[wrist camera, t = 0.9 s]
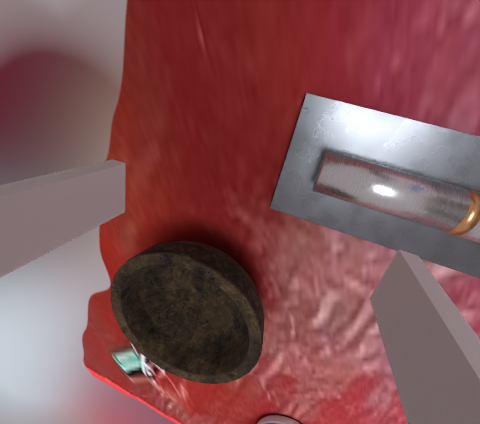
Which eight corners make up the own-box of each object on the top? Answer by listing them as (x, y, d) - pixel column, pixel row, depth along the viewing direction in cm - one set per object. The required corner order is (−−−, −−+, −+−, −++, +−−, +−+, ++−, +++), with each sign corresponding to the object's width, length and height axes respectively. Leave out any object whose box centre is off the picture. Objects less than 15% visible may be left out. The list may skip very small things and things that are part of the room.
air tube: (312, 184, 30) (311, 196, 25) (326, 146, 28) (328, 152, 23) (513, 246, 26) (549, 271, 22) (545, 208, 24) (593, 228, 20)
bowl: (289, 241, 34) (280, 286, 25) (260, 344, 43) (246, 405, 34) (152, 203, 38) (104, 231, 29) (152, 305, 47) (114, 350, 38)
